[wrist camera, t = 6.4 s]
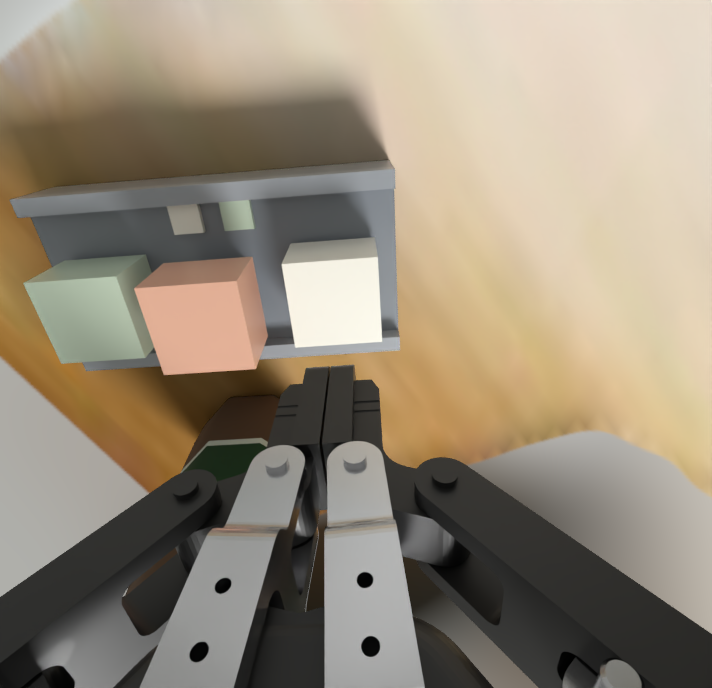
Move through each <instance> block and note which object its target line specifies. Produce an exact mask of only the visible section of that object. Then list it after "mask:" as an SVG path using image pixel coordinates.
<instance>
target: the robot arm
mask: <svg viewBox="0 0 712 688" xmlns="http://www.w3.org/2000/svg"><path fill="white" fill-rule="evenodd" d="M320 510H327V512H328V526H327V527H325V536H324V537H325V539H324V542H325V543H324V546H325V549H324V553H325V554H324V557H325V560H324V561H325V563H324V564H325V567H324V568H325V570H324V571H325V606H324V607H321V608H317V609H314V610H311V611H308V612H306V602H307V597H308V591H309V586H310V580H311V575H312V569H313V564H314V558H315V552H316V547H317V542H318V521H319V511H320ZM174 548H176V550H177V552H178V553H177V554H176V555H175V556H173V557H172V558H171V559H170V560H168V561H167V562H166V563H165V564H164V565H162V566H161V567H160V568H159V569H158V570H156V571H155V572H154V573H153V574H152V575H150V576H149V577H148V578H147V579H146V580H144V581H143V582H142V583H141V584H140V585H138V586H137V587H136V588H135V589H133V590H132V591H131V592H130V593H129V594H127V595H126V596H124V597H123V594H124V592H125V590H126V589H127V588H128V587H129V586H130V585H131V584H132V583H133V582H134V581H135V580H136V579H137V578H139V577H140V576H141V575H142V574H144V573H145V572H146V571H147V570H148V569H150V568H151V567H152V566H153V565H155V564H156V563H157V562H158V561H159V560H161V559H162V558H163V557H164V556H166V555H167V554H168V553H169V552H171V551H172V550H173V549H174ZM402 556H404V557H408V558H412V559H415V560H417V563H418V565H419V567H420V569H421V570H422V571H423V572H424V573H425V574H426V575H427V576H428V577H429V578H430V579H431V580H432V581H433V582H434V583H435V584H436V585H437V586H438V587H439V588H440V589H441V590H442V591H443V592H444V593H445V594H446V595H447V596H448V597H449V598H450V599H451V600H452V601H453V602H454V603H455V604H456V605H457V606H458V607H459V608H460V609H461V610H462V611H463V612H464V613H465V614H466V615H467V616H468V617H469V618H470V619H471V620H472V621H473V622H474V623H475V624H476V625H477V626H478V627H479V628H480V629H481V630H482V631H483V632H484V633H485V634H486V635H487V636H488V637H489V638H490V639H491V640H492V641H493V642H494V643H495V644H496V645H497V646H498V647H499V648H500V649H501V650H502V651H503V652H504V653H505V654H506V655H507V656H508V657H509V658H510V659H511V660H512V661H513V662H514V663H515V664H516V665H517V666H518V667H519V668H520V669H521V670H522V671H523V672H524V673H525V674H526V675H527V676H528V677H529V678H530V679H531V680H532V681H533V682H534V683H535V684H536V685H537V686H538V687H539V688H712V634H711V633H709V632H708V631H706V630H705V629H704V628H702V627H700V626H699V625H698V624H696V623H695V622H693V621H692V620H690V619H689V618H687V617H686V616H685V615H683V614H682V613H680V612H679V611H677V610H676V609H674V608H673V607H671V606H670V605H668V604H667V603H666V602H664V601H663V600H661V599H660V598H658V597H657V596H656V595H654V594H653V593H651V592H650V591H648V590H647V589H645V588H644V587H642V586H641V585H640V584H638V583H637V582H635V581H634V580H632V579H631V578H629V577H628V576H626V575H625V574H624V573H622V572H620V571H619V570H617V569H616V568H615V567H613V566H612V565H610V564H609V563H607V562H606V561H604V560H603V559H602V558H600V557H599V556H597V555H596V554H594V553H593V552H592V551H590V550H589V549H587V548H586V547H584V546H583V545H581V544H580V543H578V542H577V541H575V540H574V539H573V538H571V537H570V536H568V535H567V534H565V533H564V532H562V531H561V530H560V529H558V528H556V527H555V526H554V525H552V524H551V523H549V522H548V521H546V520H545V519H543V518H542V517H541V516H539V515H538V514H536V513H535V512H533V511H532V510H530V509H529V508H528V507H526V506H524V505H523V504H522V503H520V502H519V501H517V500H516V499H514V498H513V497H512V496H510V495H508V494H507V493H506V492H504V491H503V490H501V489H500V488H498V487H497V486H496V485H494V484H493V483H491V482H490V481H488V480H487V479H485V478H484V477H482V476H481V475H480V474H478V473H477V472H475V471H474V470H472V469H471V468H469V467H468V466H466V465H465V464H463V463H462V462H460V461H457V460H455V459H451V458H442V457H440V458H433V459H430V460H427V461H425V462H423V463H422V464H421V465H420V466H419V467H418V468H417V469H415V468H411V467H406V466H402V465H400V464H397V463H396V462H394V461H392V460H391V459H390V458H389V457H388V456H387V455H386V454H385V452H384V450H383V444H382V428H381V413H380V398H379V388H378V387H377V386H376V385H375V383H374V382H373V381H372V380H356V376H355V367H354V365H343V366H331V369H330V367H313V368H306V370H305V375H304V380H303V384H293V385H290V386H289V387H288V388H287V389H286V390H285V391H284V392H283V393H282V394H281V396H280V400H279V404H278V408H277V411H276V415H275V418H274V422H273V426H272V429H271V433H270V436H269V440H268V444H267V447H266V449H265V450H264V451H262V452H260V453H259V454H258V455H257V456H256V457H255V458H254V459H253V460H252V462H251V464H250V466H249V469H248V471H247V472H245V473H242V474H240V475H237V476H234V477H231V478H227V479H224V480H221V481H216V478H215V476H214V475H213V474H212V473H211V472H209V471H206V470H201V469H195V470H189V471H185V472H183V473H180V474H178V475H176V476H174V477H173V478H171V479H170V480H168V481H167V482H165V483H164V484H163V485H161V486H160V487H158V488H157V489H155V490H154V491H152V492H151V493H150V494H148V495H147V496H145V497H144V498H142V499H141V500H140V501H138V502H137V503H135V504H134V505H133V506H131V507H130V508H128V509H127V510H125V511H124V512H122V513H121V514H119V515H118V516H117V517H115V518H114V519H112V520H111V521H109V522H108V523H107V524H105V525H104V526H102V527H101V528H99V529H98V530H96V531H95V532H93V533H92V534H91V535H89V536H88V537H86V538H85V539H83V540H82V541H80V542H79V543H78V544H76V545H75V546H73V547H72V548H71V549H69V550H67V551H66V552H65V553H63V554H62V555H60V556H59V557H57V558H56V559H55V560H53V561H52V562H50V563H49V564H47V565H46V566H44V567H43V568H42V569H40V570H39V571H37V572H36V573H34V574H33V575H31V576H30V577H28V578H27V579H26V580H24V581H23V582H21V583H20V584H18V585H17V586H16V587H14V588H13V589H11V590H10V591H9V592H7V593H6V594H4V595H3V596H1V597H0V688H493V687H492V685H491V684H490V683H489V682H488V681H487V680H486V678H485V677H484V676H483V675H482V674H481V673H480V671H479V670H478V669H477V668H476V667H475V666H474V664H473V663H472V662H471V661H470V660H469V659H468V658H467V656H466V655H465V654H464V653H463V652H462V651H461V649H460V648H459V647H458V646H457V645H456V644H455V643H454V642H453V641H452V640H451V639H450V638H449V637H447V636H446V635H445V634H444V633H443V632H441V631H440V630H438V629H437V628H435V627H434V626H433V625H431V624H429V623H427V622H425V621H423V620H421V619H419V618H416V617H414V616H412V611H411V605H410V599H409V594H408V588H407V582H406V576H405V571H404V565H403V559H402Z"/></svg>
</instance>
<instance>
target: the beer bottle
mask: <svg viewBox="0 0 712 688" xmlns="http://www.w3.org/2000/svg"><path fill="white" fill-rule="evenodd" d="M279 400H280V399H279V398H277V397H276V396H274V395H263V396H246V397H231V398H229V399H228V400H227V401H226V402H225V403H224V404H223V405H222V406H221V408H220V409H219V410H218V411H217V412H216V413H215V414H214V415H213V417H212V418H211V419H210V420H209V421H208V422H207V423H206V424H205V426H204V427H203V429H202V431H201V433H200V434H199V436H198V438H197V440H196V442H195V443H194V446H193V448H192V450H191V452H190V454H189V456H188V458H187V461H186V463H185V465H184V467H183V469H182V471H181V473H183V472H185V471H189V470H195V469H201V470H206V471H209V472H211V473H212V474H213V475H214V476H215V478H216V481H221V480H224V479H227V478H231V477H234V476H237V475H240V474H242V473H245V472H247V471H248V469H249V466H250V464H251V462H252V460H253V459H254V458H255V457H256V456H257V455H258V454H259V453H260V452H262V451H264V450H265V449H266V447H267V444H268V440H269V436H270V433H271V429H272V426H273V422H274V418H275V415H276V411H277V408H278V404H279ZM177 553H178V552H177V550H176V548H174V549H173V550H172V551H171V552H169V553H168V554H167V555H166V556H164V557H163V558H162V559H161V560H159V561H158V562H157V563H156V564H155V565H153V566H152V567H151V568H150V569H148V570H147V571H146V572H145V573H144V574H142V575H141V576H140V577H139V578H137V579H136V580H135V581H134V582H133V583H132V584H131V585H130V586H129V587H128V590H127V593H126V595H127V594H129V593H130V592H131V591H132V590H133V589H135V588H136V587H137V586H138V585H140V584H141V583H142V582H143V581H144V580H146V579H147V578H148V577H149V576H150V575H152V574H153V573H154V572H155V571H156V570H158V569H159V568H160V567H161V566H162V565H164V564H165V563H166V562H167V561H168V560H170V559H171V558H172V557H173V556H175V555H176V554H177ZM126 595H125V596H126Z"/></svg>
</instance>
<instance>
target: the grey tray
mask: <svg viewBox="0 0 712 688" xmlns="http://www.w3.org/2000/svg"><path fill="white" fill-rule="evenodd" d="M394 189H395V169H394V167H393V165H392V164H391V162H390V160H382V161H370V162H357V163H345V164H332V165H320V166H307V167H295V168H283V169H270V170H258V171H245V172H233V173H220V174H208V175H195V176H183V177H171V178H158V179H146V180H133V181H121V182H108V183H96V184H84V185H71V186H59V187H52V188H49V189H45V190H42V191H38V192H35V193H31V194H28V195H24V196H21V197H17V198H14V199H10V202H11V204H12V206H13V209H14V211H15V213H16V215H17V218H25V217H31V219H32V221H33V224H34V226H35V228H36V231H37V233H38V235H39V238H40V240H41V242H42V245H43V247H44V249H45V252H46V254H47V256H48V258H49V261H50V263H51V265H52V267H54V266H55V265H57V264H59V263H61V262H63V261H65V260H78V259H91V258H105V257H118V256H131V255H145V254H146V257H147V260H148V263H149V266H150V269H151V272H152V273H153V272H154V271H155V270H156V269H157V268H159V267H160V266H161V265H162V264H163V263H172V262H186V261H199V260H213V259H226V258H240V257H253V262H254V267H255V272H256V278H257V283H258V288H259V293H260V298H261V303H262V308H263V313H264V318H265V323H266V329H267V334H268V337H267V340H266V343H265V345H264V348H263V351H262V354H261V356H260V359H275V358H290V357H305V356H320V355H335V354H350V353H365V352H380V351H395V350H400V337H399V331H398V307H397V273H396V240H395V207H394ZM370 237H375V242H376V248H377V255H378V269H379V289H380V309H381V328H382V342H372V343H357V344H343V345H328V346H313V347H298V348H295V343H294V337H293V331H292V325H291V319H290V313H289V307H288V301H287V294H286V288H285V282H284V276H283V270H282V262H283V260H284V257H285V255H286V253H287V251H288V248H289V246H290V244H291V243H304V242H317V241H330V240H344V239H357V238H370ZM260 359H259V360H260ZM82 363H83V365H84V367H85V369H86V371H95V370H110V369H125V368H140V367H155V366H161V365H160V362H159V359H158V357H157V354H156V351H155V348H153V349H152V351H151V352H150V353H149V354H148V355H147V357H146V358H137V359H122V360H107V361H93V362H82Z"/></svg>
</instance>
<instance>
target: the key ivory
mask: <svg viewBox="0 0 712 688" xmlns="http://www.w3.org/2000/svg"><path fill="white" fill-rule="evenodd" d="M282 270H283V276H284V282H285V288H286V294H287V301H288V307H289V313H290V319H291V325H292V331H293V337H294V343H295V348H298V347H313V346H328V345H343V344H357V343H372V342H382V328H381V309H380V289H379V269H378V255H377V248H376V242H375V237H370V238H357V239H344V240H330V241H317V242H304V243H291V244H290V246H289V248H288V251H287V253H286V255H285V257H284V260H283V262H282Z"/></svg>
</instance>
